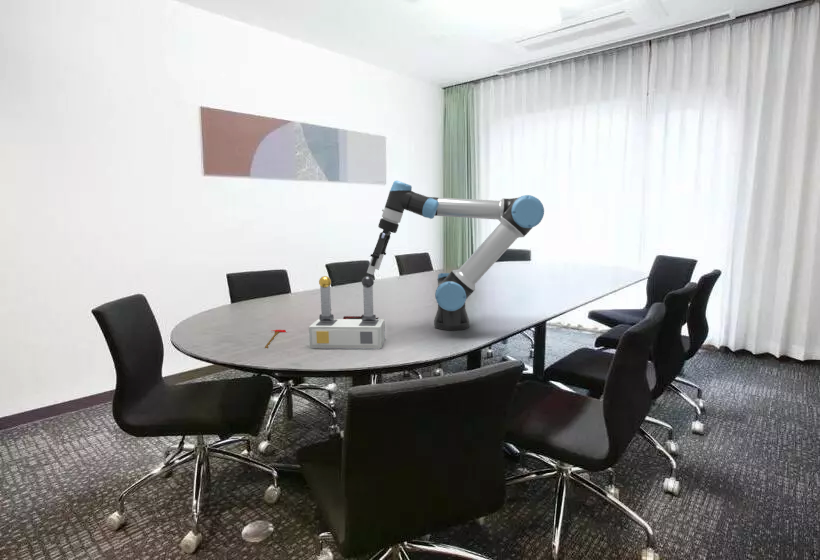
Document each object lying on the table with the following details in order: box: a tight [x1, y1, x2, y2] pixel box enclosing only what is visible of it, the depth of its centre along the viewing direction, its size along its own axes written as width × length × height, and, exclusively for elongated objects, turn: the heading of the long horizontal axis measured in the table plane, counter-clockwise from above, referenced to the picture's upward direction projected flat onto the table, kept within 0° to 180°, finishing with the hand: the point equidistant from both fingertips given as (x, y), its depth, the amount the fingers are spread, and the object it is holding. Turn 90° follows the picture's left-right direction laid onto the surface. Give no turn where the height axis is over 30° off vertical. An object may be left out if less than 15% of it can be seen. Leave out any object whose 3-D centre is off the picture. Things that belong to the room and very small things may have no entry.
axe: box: [264, 329, 287, 349], centre depth 175 cm, size 26×1×10 cm
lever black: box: [361, 275, 377, 321], centre depth 163 cm, size 5×4×17 cm
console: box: [308, 318, 386, 350], centre depth 166 cm, size 26×12×8 cm, turn 85°
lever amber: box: [318, 275, 335, 321], centre depth 164 cm, size 5×4×17 cm
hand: (372, 271), depth 176 cm, fingers open, 13 cm apart
